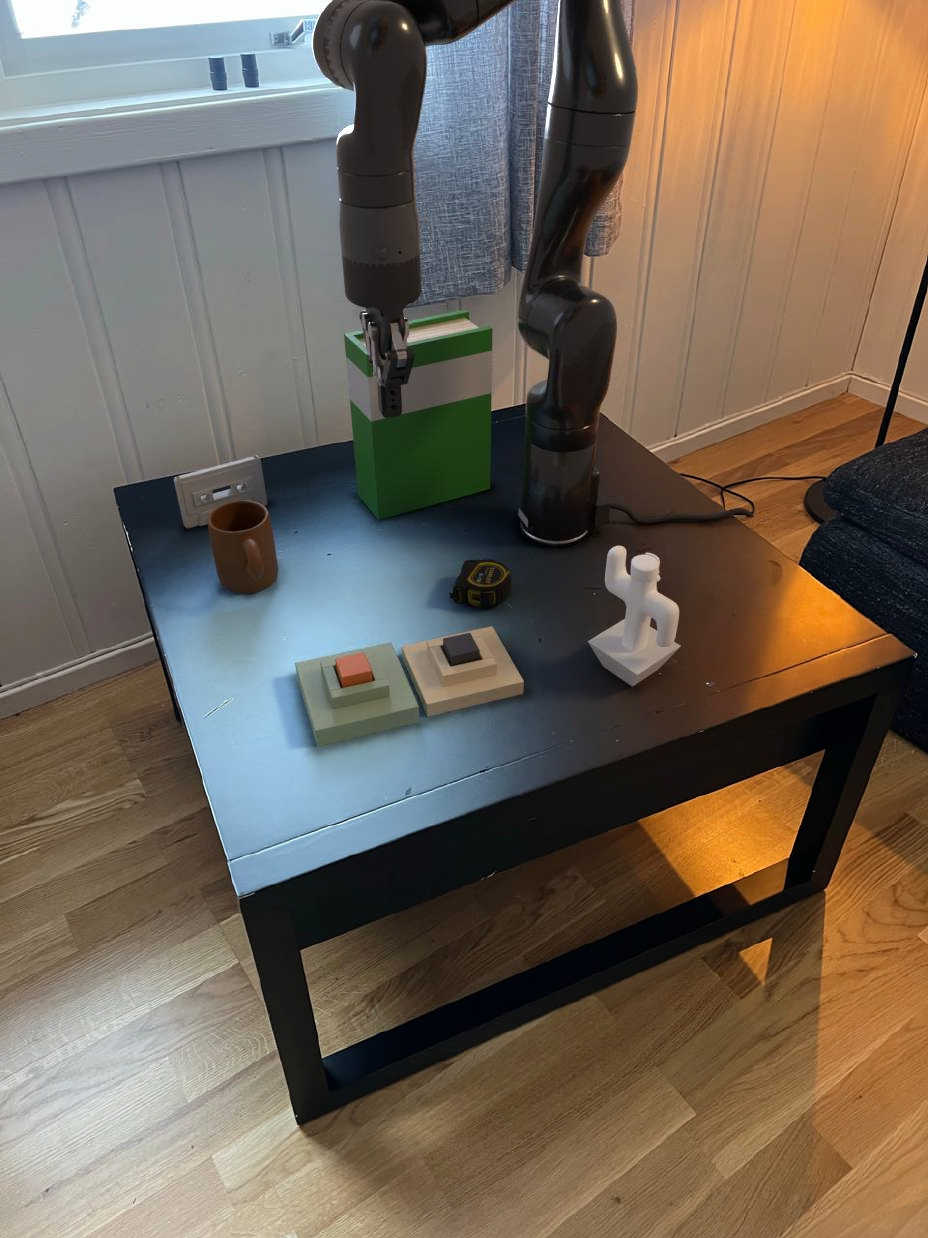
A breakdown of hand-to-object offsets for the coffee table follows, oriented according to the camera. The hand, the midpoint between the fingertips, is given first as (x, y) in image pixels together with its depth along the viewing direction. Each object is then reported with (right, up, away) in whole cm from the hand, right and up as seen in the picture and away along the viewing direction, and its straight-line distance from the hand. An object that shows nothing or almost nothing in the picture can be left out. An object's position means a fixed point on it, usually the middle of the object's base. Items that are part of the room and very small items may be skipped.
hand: (390, 413), depth 100 cm
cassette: (-25, -8, +31) cm, 40 cm away
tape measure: (+10, -19, +16) cm, 27 cm away
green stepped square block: (-4, -31, +2) cm, 31 cm away
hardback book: (+2, -4, +35) cm, 36 cm away
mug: (-19, -18, +18) cm, 31 cm away
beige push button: (+8, -28, +5) cm, 30 cm away
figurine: (+27, -28, +6) cm, 39 cm away
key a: (+8, -26, +3) cm, 27 cm away
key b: (-4, -28, -1) cm, 28 cm away
